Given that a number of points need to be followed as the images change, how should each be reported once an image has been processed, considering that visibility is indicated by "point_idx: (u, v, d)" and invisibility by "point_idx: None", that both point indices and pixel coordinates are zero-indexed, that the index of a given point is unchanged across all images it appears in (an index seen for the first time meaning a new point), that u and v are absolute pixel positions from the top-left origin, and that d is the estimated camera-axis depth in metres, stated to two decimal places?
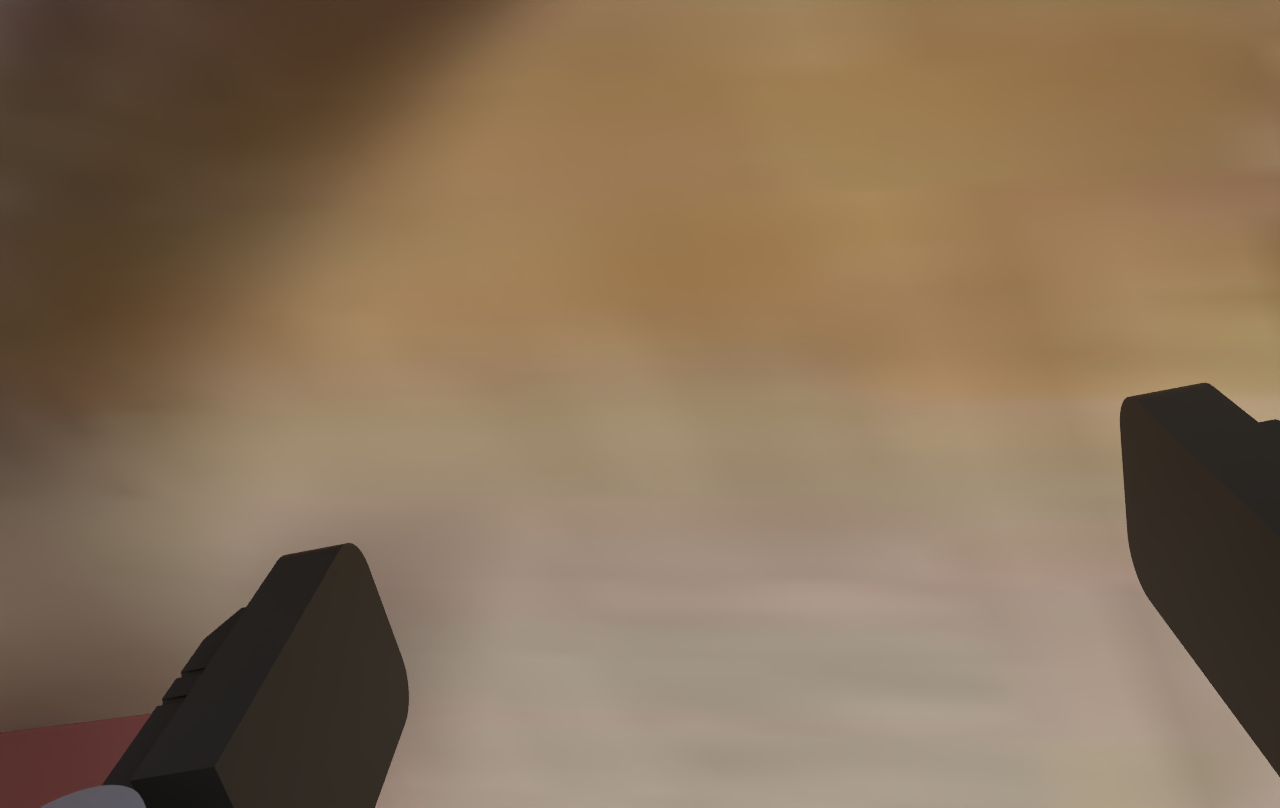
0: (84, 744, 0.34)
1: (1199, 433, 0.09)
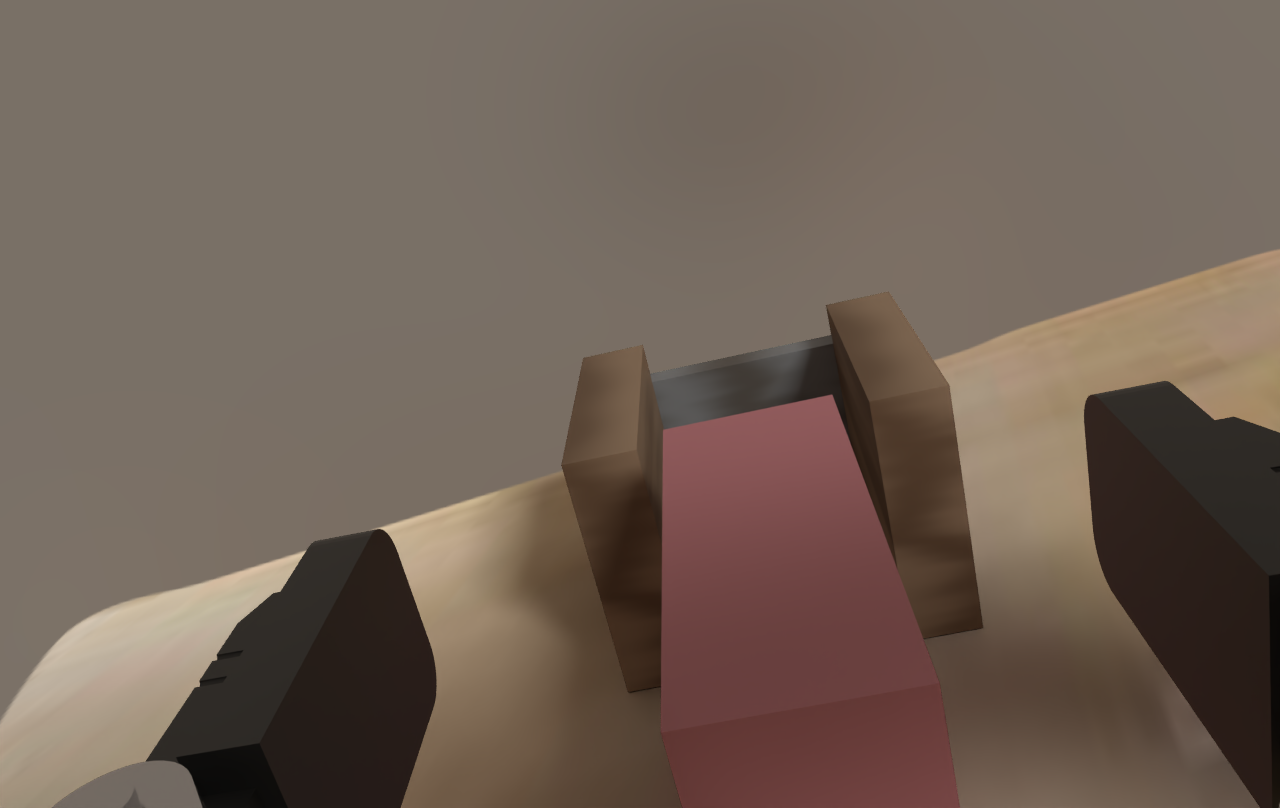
0: None
1: (1156, 430, 0.09)
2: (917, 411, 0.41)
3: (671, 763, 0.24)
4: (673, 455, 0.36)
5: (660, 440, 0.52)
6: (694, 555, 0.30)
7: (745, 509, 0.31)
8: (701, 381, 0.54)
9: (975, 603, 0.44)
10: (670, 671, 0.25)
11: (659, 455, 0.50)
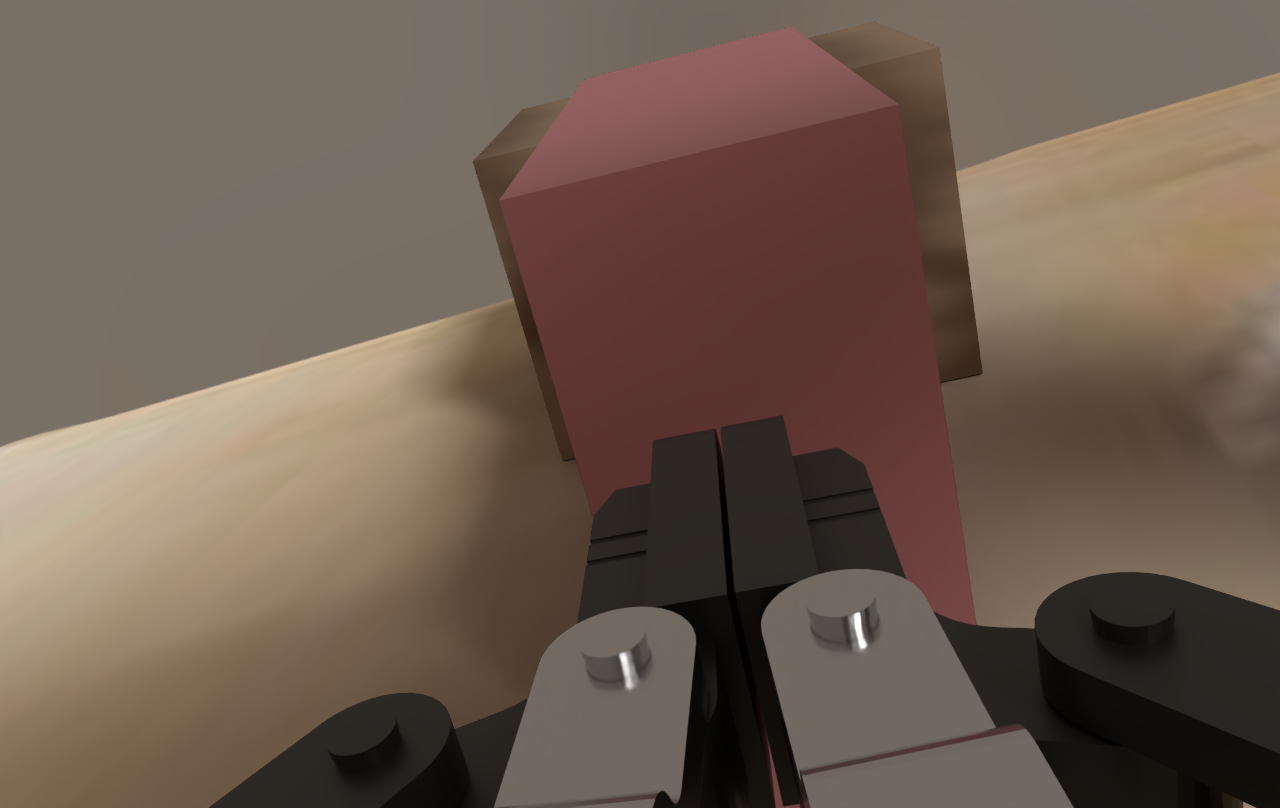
0: None
1: (743, 461, 0.11)
2: (900, 83, 0.34)
3: (517, 254, 0.17)
4: (590, 85, 0.29)
5: None
6: (592, 117, 0.23)
7: (666, 87, 0.24)
8: None
9: (973, 341, 0.37)
10: (530, 170, 0.18)
11: None
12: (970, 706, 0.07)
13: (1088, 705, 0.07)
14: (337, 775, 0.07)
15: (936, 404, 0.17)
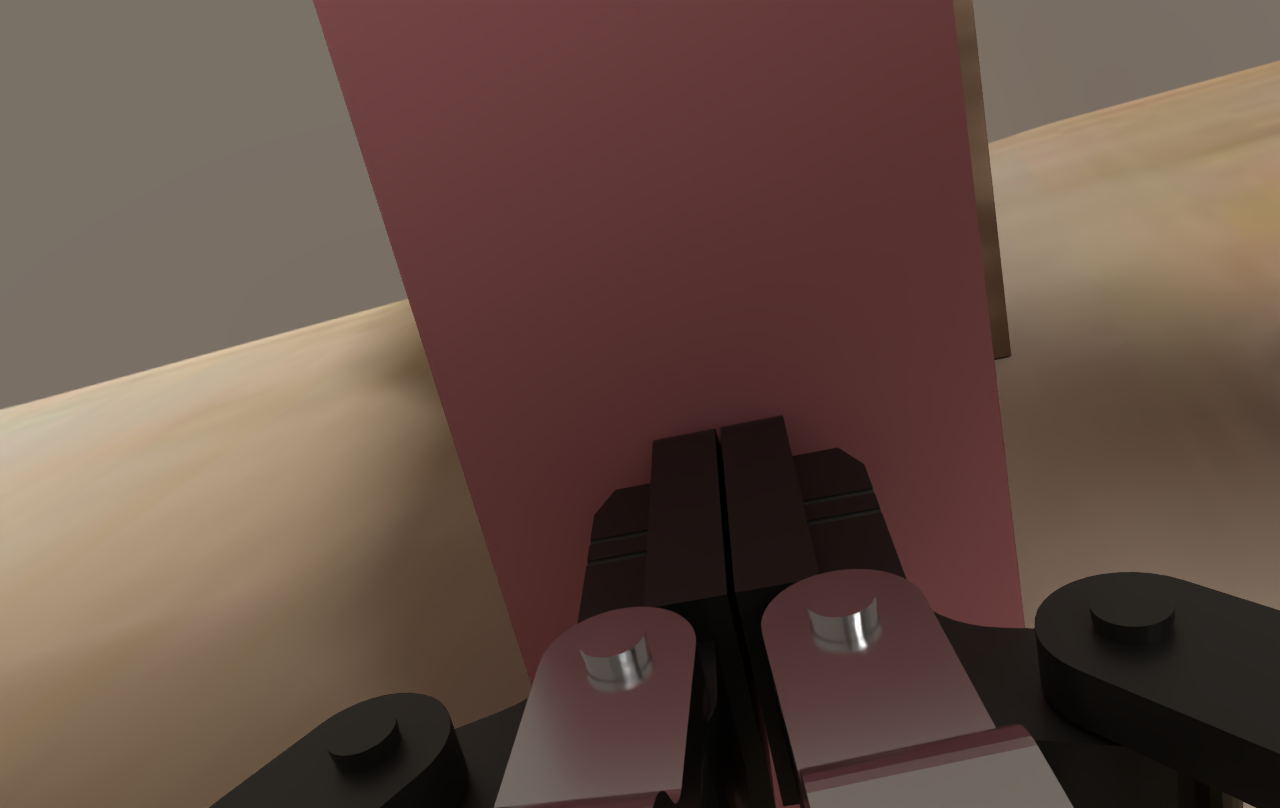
0: None
1: (743, 461, 0.11)
2: None
3: (338, 68, 0.11)
4: None
5: None
6: None
7: None
8: None
9: (1000, 316, 0.31)
10: None
11: None
12: (970, 706, 0.07)
13: (1088, 704, 0.07)
14: (337, 775, 0.07)
15: (978, 316, 0.11)
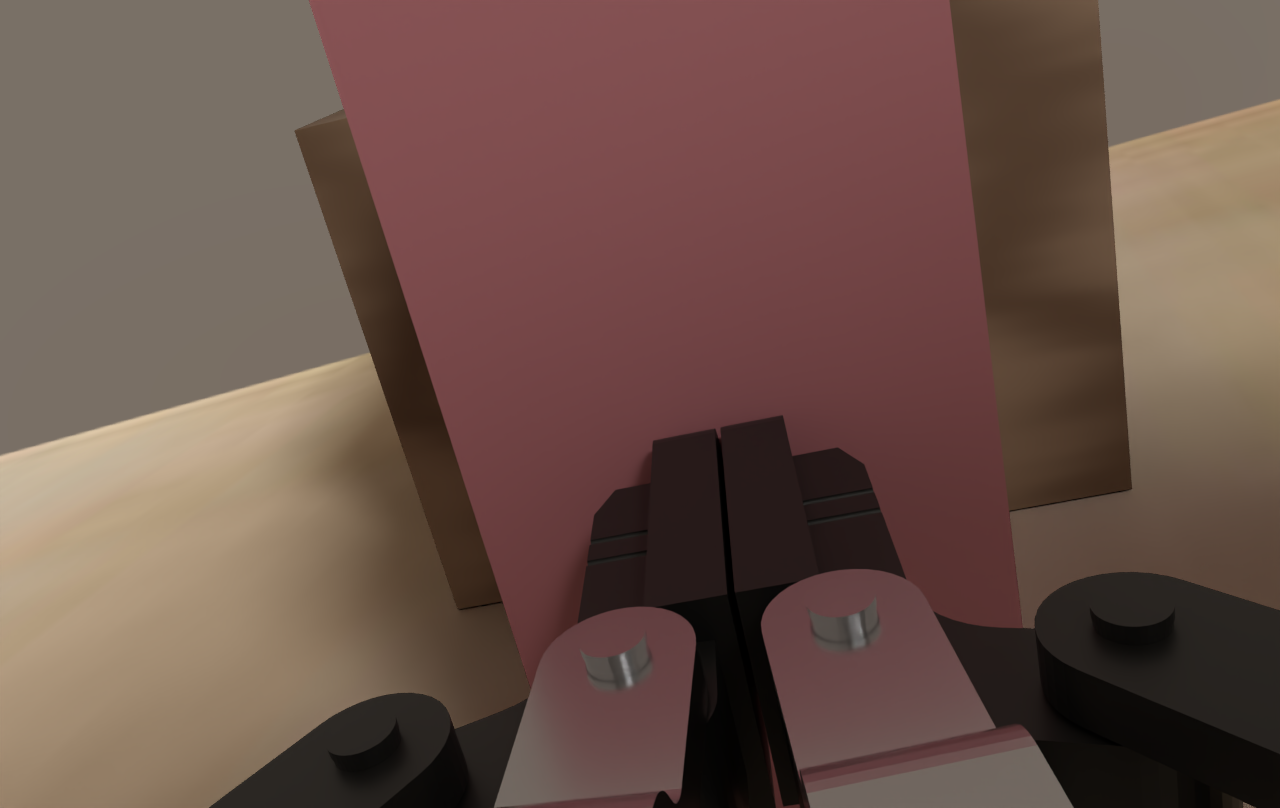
0: None
1: (742, 461, 0.11)
2: (1022, 3, 0.19)
3: (333, 64, 0.11)
4: None
5: None
6: None
7: None
8: None
9: (1119, 438, 0.23)
10: None
11: None
12: (970, 706, 0.07)
13: (1088, 705, 0.07)
14: (337, 775, 0.07)
15: (975, 312, 0.11)
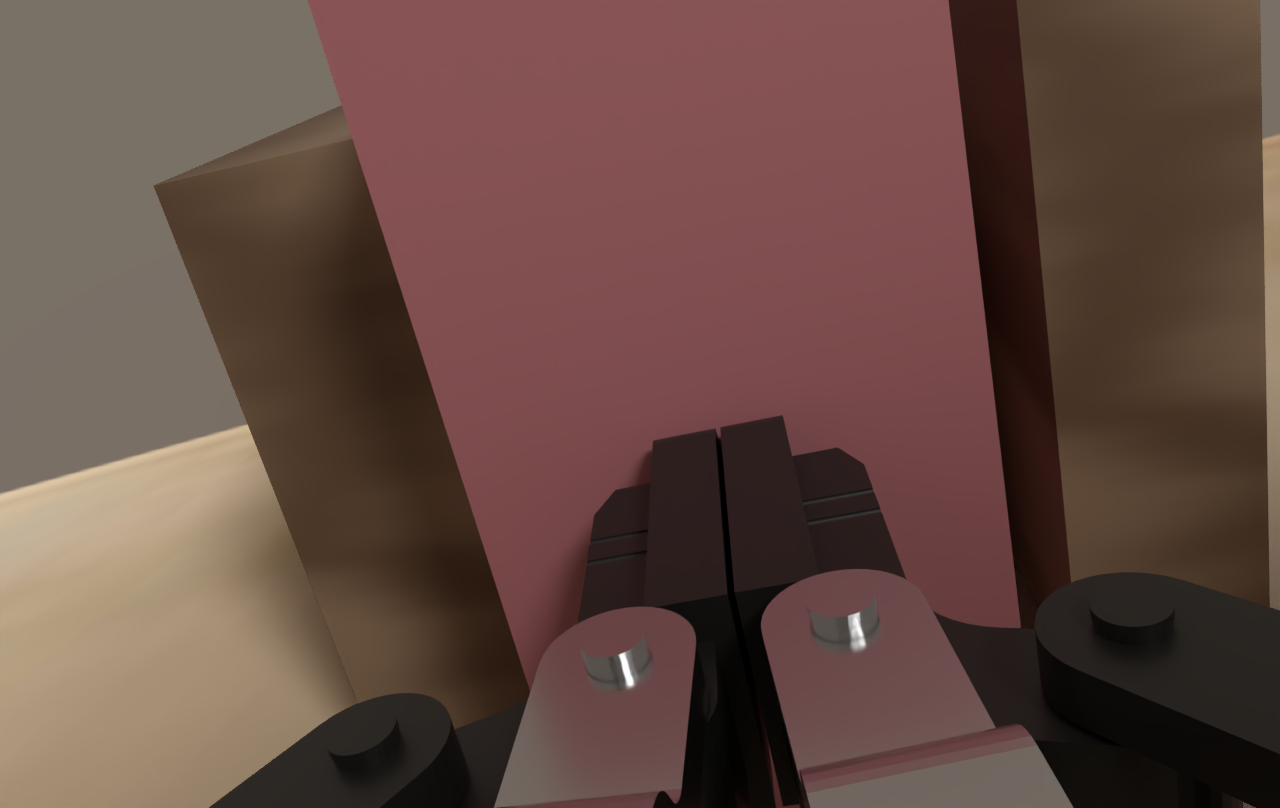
0: None
1: (743, 461, 0.11)
2: (1154, 15, 0.14)
3: (330, 58, 0.11)
4: None
5: None
6: None
7: None
8: None
9: (1258, 587, 0.17)
10: None
11: None
12: (970, 706, 0.07)
13: (1088, 705, 0.07)
14: (337, 775, 0.07)
15: (973, 308, 0.11)
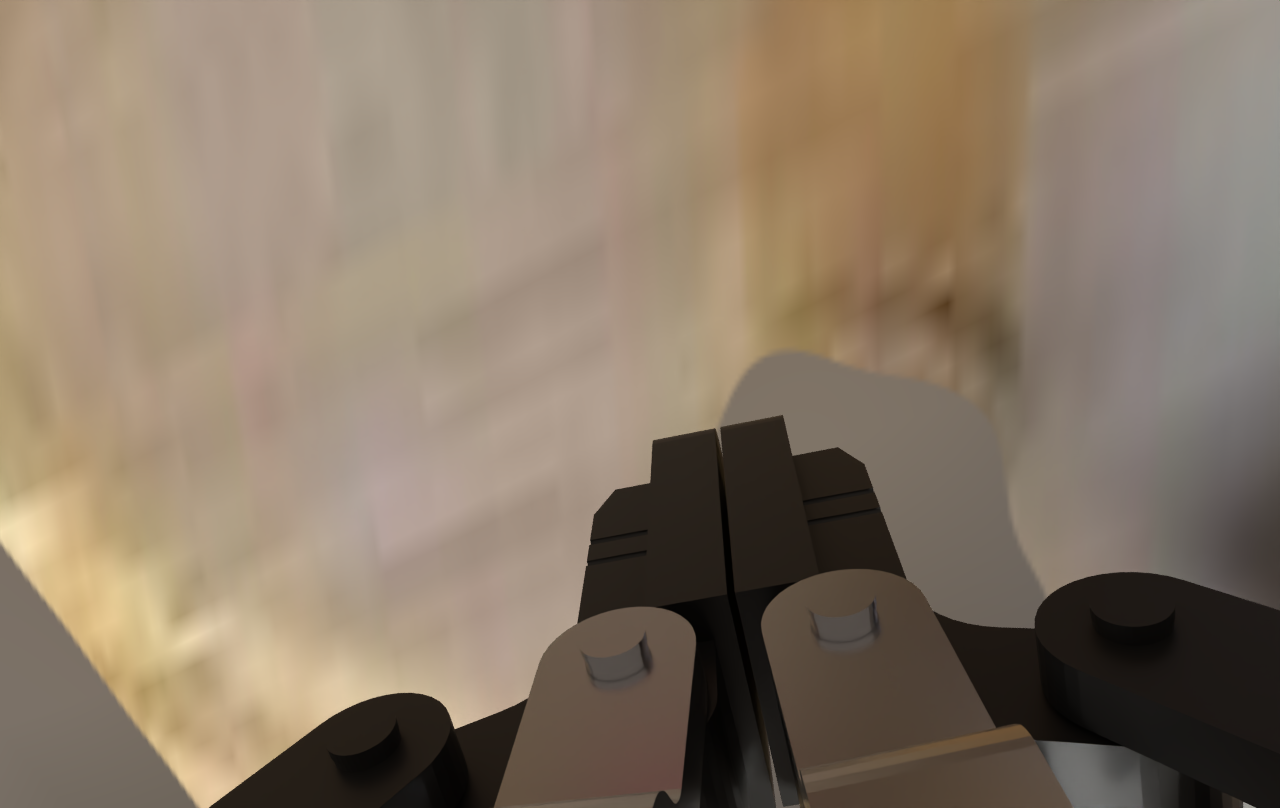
0: None
1: (742, 461, 0.11)
2: None
3: None
4: None
5: None
6: None
7: None
8: None
9: None
10: None
11: None
12: (970, 706, 0.07)
13: (1088, 705, 0.07)
14: (338, 775, 0.07)
15: None
